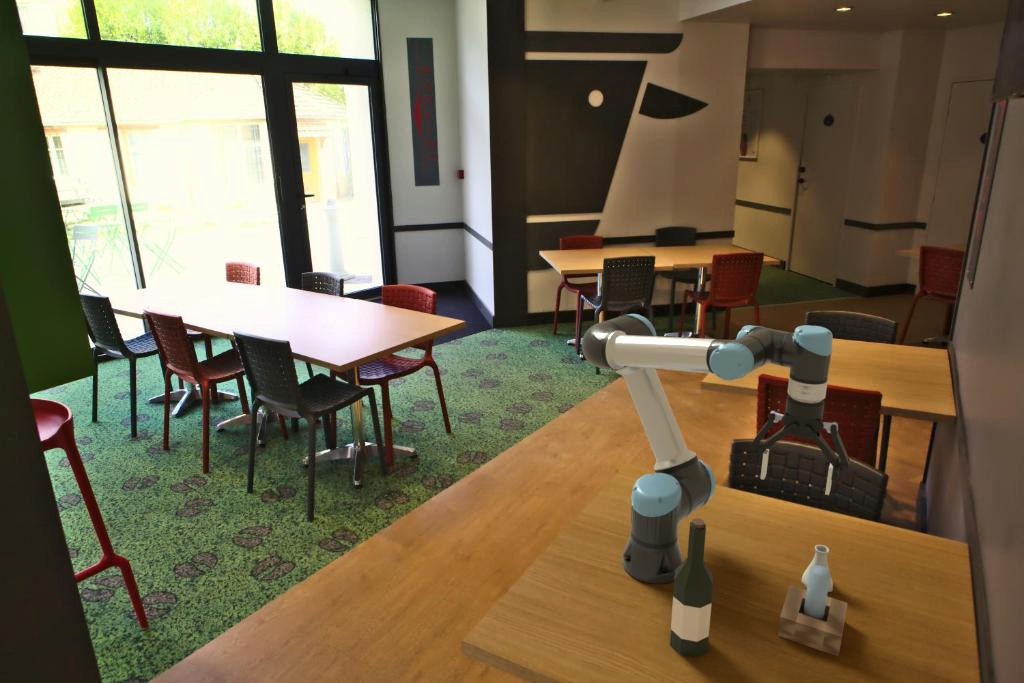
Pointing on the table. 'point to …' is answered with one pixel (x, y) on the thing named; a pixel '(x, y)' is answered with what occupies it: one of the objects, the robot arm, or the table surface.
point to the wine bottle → (692, 597)
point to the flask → (820, 560)
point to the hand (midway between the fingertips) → (794, 484)
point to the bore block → (812, 622)
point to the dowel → (817, 592)
